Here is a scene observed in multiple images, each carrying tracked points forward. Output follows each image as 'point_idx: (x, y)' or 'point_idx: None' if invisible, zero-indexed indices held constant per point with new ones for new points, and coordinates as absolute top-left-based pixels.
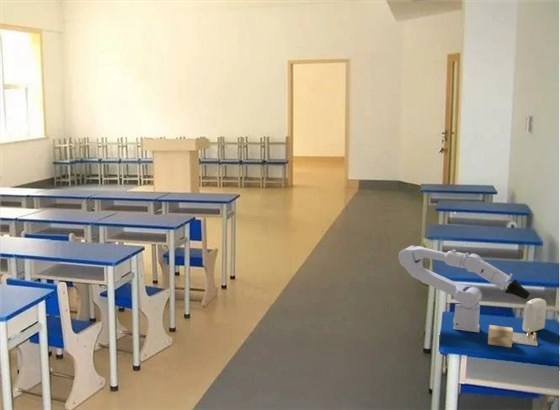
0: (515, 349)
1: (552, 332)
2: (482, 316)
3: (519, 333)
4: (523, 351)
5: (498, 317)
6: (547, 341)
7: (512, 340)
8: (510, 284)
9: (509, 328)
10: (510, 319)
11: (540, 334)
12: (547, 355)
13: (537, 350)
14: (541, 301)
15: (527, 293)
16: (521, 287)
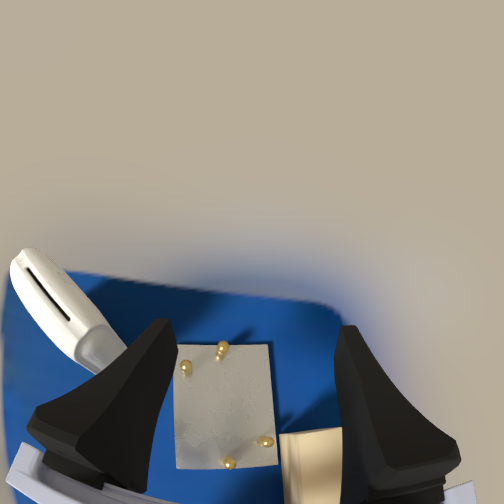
0: (331, 415)
1: (106, 281)
2: (26, 497)
3: (178, 402)
4: (336, 390)
5: (12, 441)
6: (201, 310)
7: (272, 430)
8: (440, 481)
9: (312, 445)
10: (17, 402)
11: (137, 324)
12: (330, 320)
13: (305, 348)
14: (50, 265)
15: (359, 334)
16: (132, 380)
